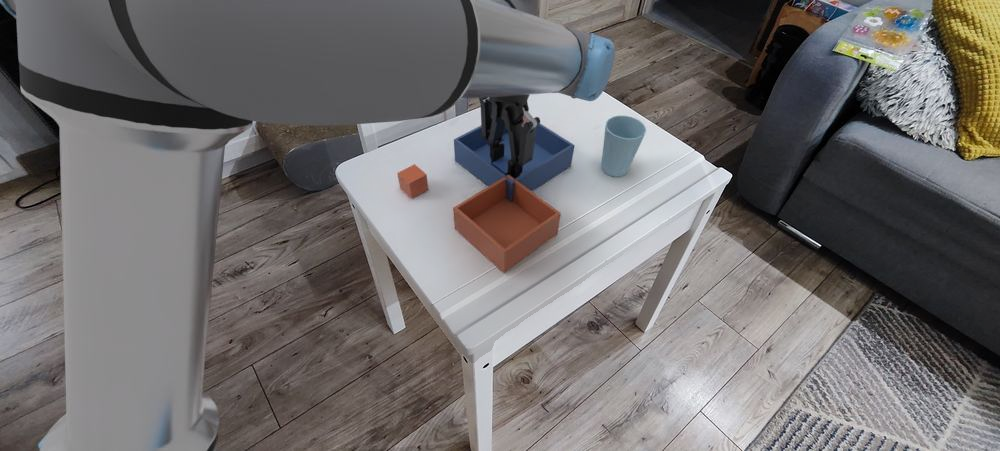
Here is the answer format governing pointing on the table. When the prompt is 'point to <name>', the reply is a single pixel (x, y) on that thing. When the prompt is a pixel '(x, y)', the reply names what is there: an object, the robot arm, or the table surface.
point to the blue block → (502, 164)
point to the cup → (621, 144)
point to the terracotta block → (413, 181)
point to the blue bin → (475, 156)
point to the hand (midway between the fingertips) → (505, 178)
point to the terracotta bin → (506, 223)
